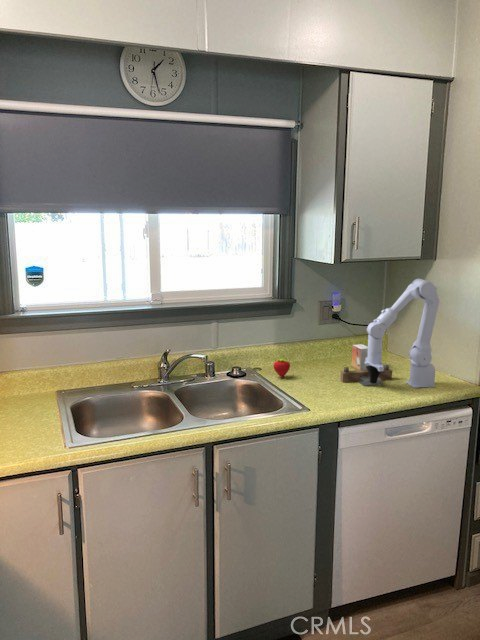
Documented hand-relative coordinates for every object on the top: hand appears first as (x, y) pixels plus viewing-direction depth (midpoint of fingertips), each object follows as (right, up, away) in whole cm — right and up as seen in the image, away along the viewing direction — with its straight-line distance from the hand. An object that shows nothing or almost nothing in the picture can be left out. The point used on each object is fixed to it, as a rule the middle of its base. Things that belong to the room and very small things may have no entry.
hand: (373, 383), depth 222 cm
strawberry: (-37, +1, +13) cm, 39 cm away
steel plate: (-1, -1, +4) cm, 4 cm away
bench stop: (-1, 0, +8) cm, 8 cm away
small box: (0, +4, +25) cm, 26 cm away
